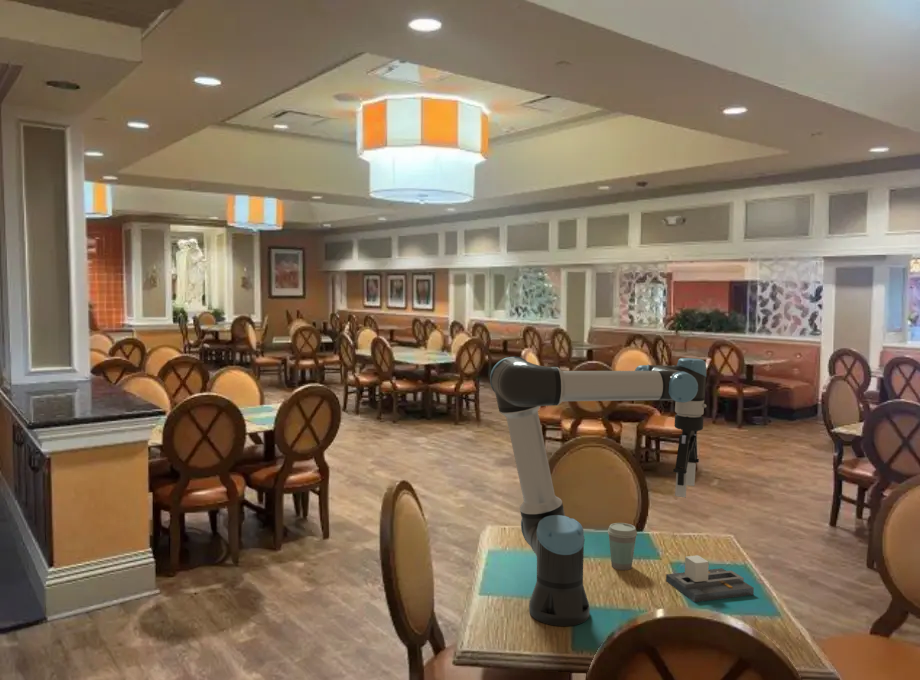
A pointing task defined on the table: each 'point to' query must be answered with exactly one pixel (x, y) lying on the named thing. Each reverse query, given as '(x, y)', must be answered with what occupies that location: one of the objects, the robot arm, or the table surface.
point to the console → (711, 585)
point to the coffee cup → (622, 545)
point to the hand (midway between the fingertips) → (685, 490)
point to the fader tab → (696, 568)
